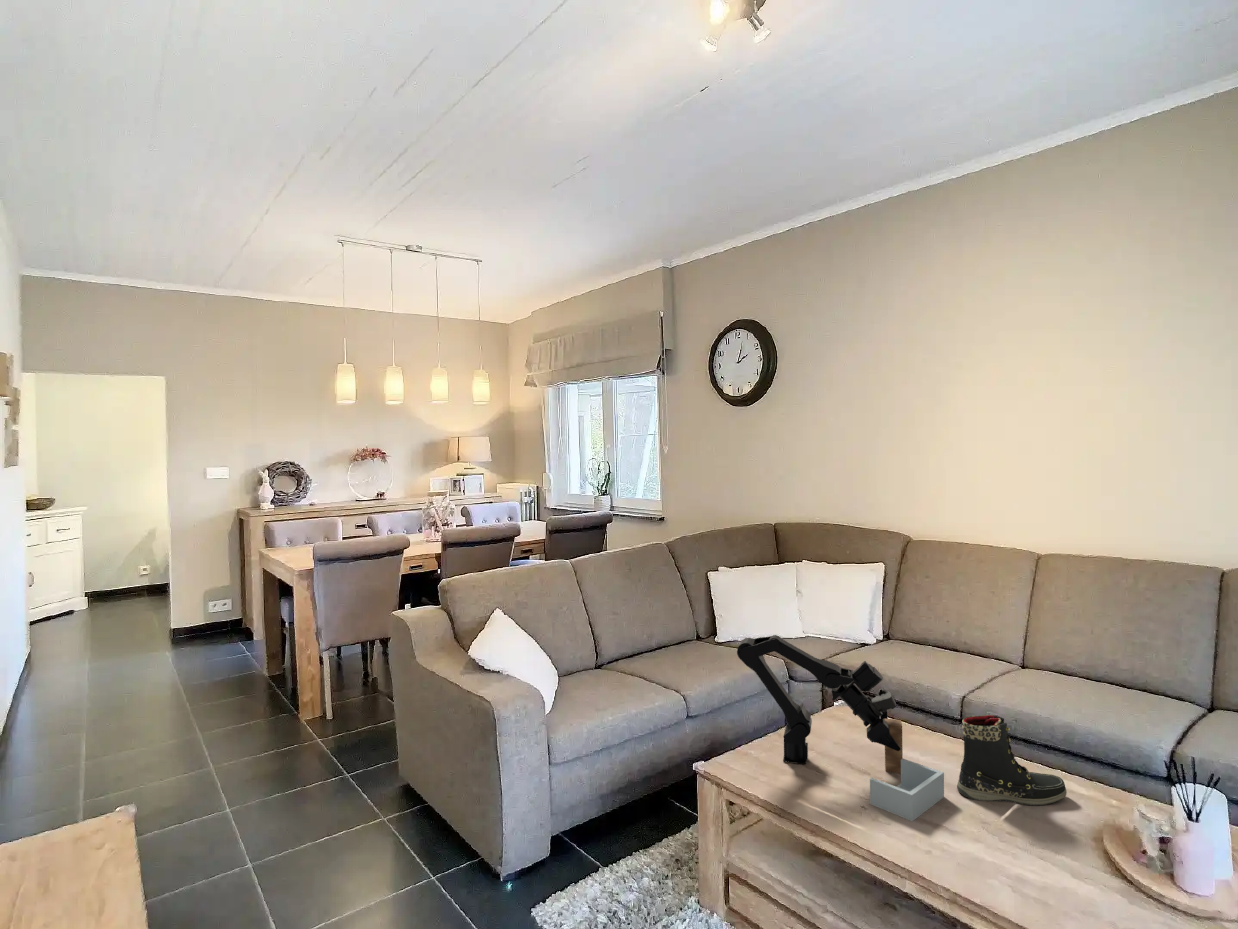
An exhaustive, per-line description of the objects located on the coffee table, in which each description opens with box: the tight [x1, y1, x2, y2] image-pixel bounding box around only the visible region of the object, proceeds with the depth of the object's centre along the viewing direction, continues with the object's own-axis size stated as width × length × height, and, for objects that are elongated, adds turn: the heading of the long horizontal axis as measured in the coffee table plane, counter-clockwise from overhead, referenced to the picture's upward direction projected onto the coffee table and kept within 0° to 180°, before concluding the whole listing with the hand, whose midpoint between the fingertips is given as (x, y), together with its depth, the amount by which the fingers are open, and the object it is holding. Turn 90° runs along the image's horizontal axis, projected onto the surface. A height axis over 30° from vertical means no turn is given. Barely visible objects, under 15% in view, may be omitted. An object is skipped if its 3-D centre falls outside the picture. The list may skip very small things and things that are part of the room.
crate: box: [869, 758, 945, 822], centre depth 180 cm, size 11×17×7 cm, turn 131°
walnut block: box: [884, 718, 904, 774], centre depth 198 cm, size 4×4×14 cm
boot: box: [956, 714, 1068, 806], centre depth 182 cm, size 12×27×20 cm, turn 100°
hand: (898, 743), depth 197 cm, fingers open, 9 cm apart
